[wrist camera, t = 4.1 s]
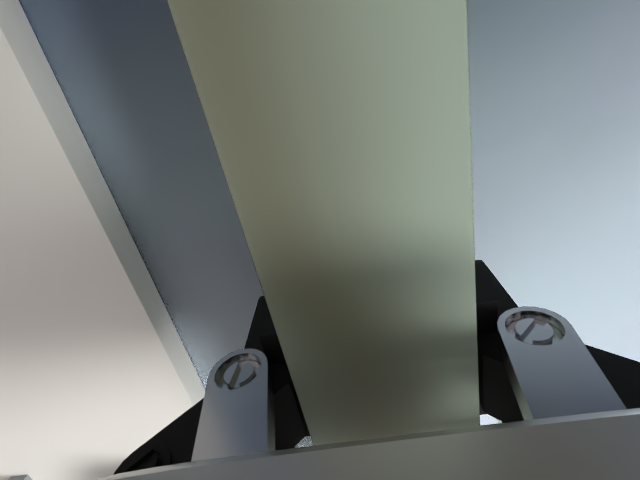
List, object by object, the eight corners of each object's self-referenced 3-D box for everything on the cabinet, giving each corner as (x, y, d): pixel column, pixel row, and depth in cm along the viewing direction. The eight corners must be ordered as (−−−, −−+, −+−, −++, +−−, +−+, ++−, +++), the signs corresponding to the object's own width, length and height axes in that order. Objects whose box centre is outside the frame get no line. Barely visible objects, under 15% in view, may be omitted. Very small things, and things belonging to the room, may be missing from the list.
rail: (387, -68, 8) (458, -225, 4) (439, 435, 15) (485, 590, 11) (233, -26, 9) (126, -124, 4) (354, 445, 16) (364, 599, 11)
